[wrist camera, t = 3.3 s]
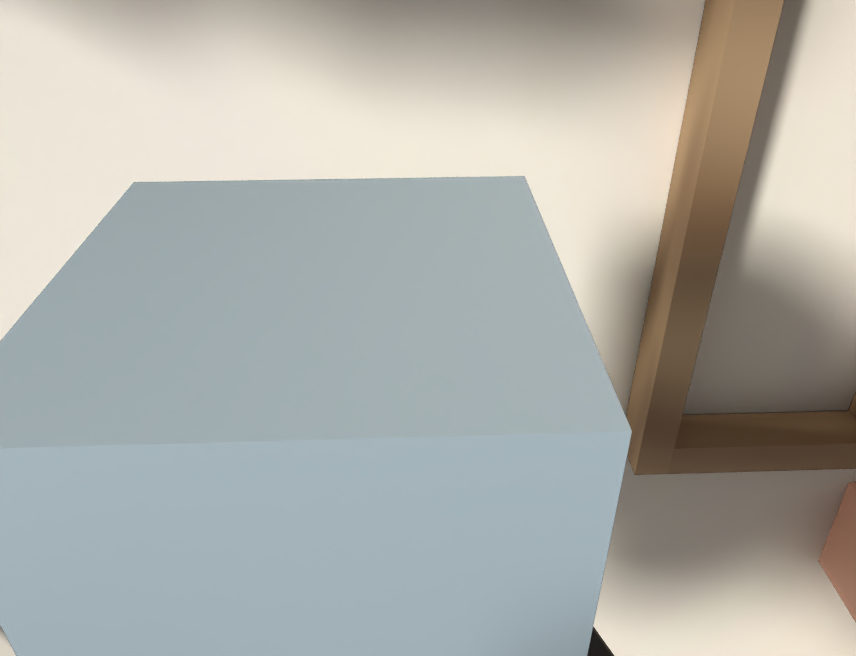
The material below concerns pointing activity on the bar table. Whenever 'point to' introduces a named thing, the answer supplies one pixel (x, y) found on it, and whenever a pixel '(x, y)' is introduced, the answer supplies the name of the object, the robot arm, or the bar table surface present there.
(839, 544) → the block
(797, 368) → the bar table surface
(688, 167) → the jig
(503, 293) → the light blue rectangular block
